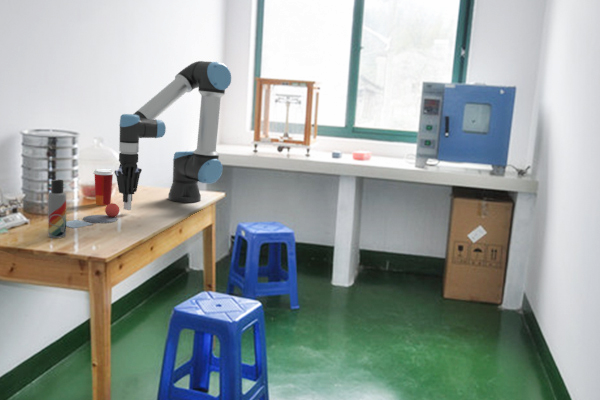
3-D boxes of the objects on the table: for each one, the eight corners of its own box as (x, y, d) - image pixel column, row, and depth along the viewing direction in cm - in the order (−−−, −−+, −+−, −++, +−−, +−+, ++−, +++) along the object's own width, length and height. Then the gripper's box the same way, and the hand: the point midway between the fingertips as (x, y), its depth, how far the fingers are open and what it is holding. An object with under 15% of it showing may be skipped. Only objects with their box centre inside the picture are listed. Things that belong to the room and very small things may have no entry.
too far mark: (77, 220, 232) (77, 219, 232) (93, 224, 228) (93, 223, 228) (57, 223, 225) (57, 223, 225) (73, 228, 220) (73, 227, 220)
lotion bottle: (57, 239, 205) (58, 181, 202) (44, 236, 207) (44, 179, 203) (69, 235, 211) (70, 179, 207) (56, 232, 213) (56, 177, 209)
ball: (99, 209, 239) (106, 218, 243) (109, 212, 236) (116, 220, 240) (108, 199, 242) (115, 208, 246) (117, 201, 239) (124, 210, 243)
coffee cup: (112, 202, 268) (113, 169, 265) (113, 206, 260) (113, 172, 257) (92, 201, 265) (93, 168, 262) (92, 206, 257) (93, 171, 254)
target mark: (102, 213, 245) (102, 213, 245) (124, 219, 239) (124, 219, 239) (75, 218, 234) (75, 218, 234) (98, 224, 228) (98, 224, 228)
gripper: (134, 150, 251) (132, 205, 255) (109, 152, 240) (108, 210, 244) (147, 152, 247) (145, 208, 252) (123, 154, 236) (121, 213, 241)
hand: (127, 209), depth 248 cm, fingers closed
